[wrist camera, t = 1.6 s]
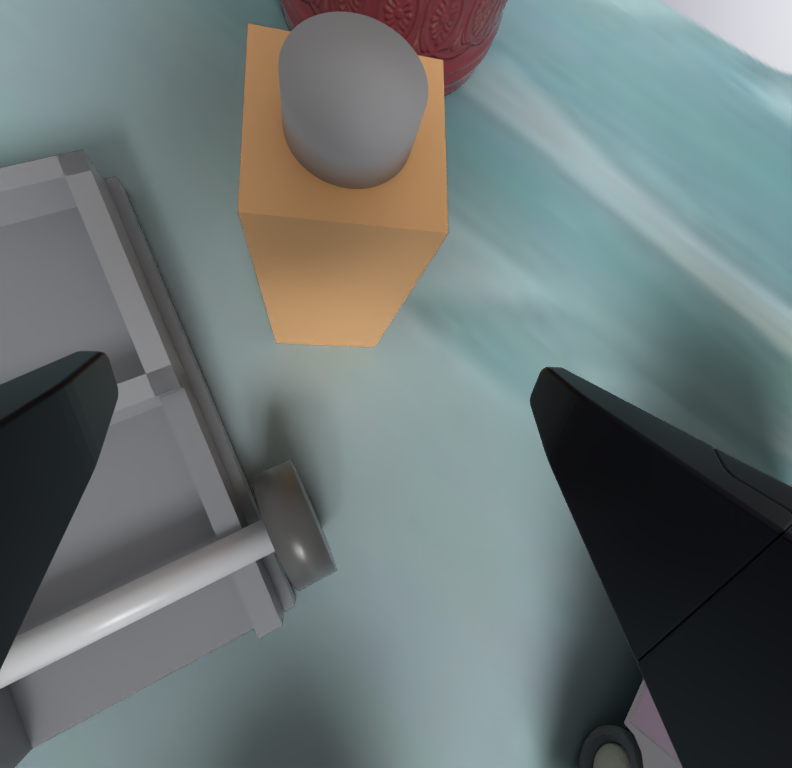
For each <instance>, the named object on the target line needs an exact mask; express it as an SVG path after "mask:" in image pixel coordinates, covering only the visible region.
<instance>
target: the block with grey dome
mask: <svg viewBox="0 0 792 768" xmlns="http://www.w3.org/2000/svg"><path fill="white" fill-rule="evenodd" d="M238 214H239V218H240V221H241V225H242V228H243V231H244V235H245V238H246V242H247V245H248V248H249V252H250V255H251V259H252V262H253V265H254V269H255V272H256V276H257V279H258V282H259V286H260V289H261V292H262V296H263V299H264V303H265V306H266V309H267V313H268V316H269V320H270V323H271V326H272V330H273V333H274V337H275V340H276V343H284V344H308V345H332V346H356V347H375V346H376V344H377V343H378V341H379V340H380V338H381V337H382V335H383V333H384V332H385V330H386V329H387V327H388V326H389V324H390V323H391V321H392V320H393V318H394V316H395V315H396V313H397V312H398V310H399V309H400V307H401V306H402V304H403V303H404V301H405V299H406V298H407V296H408V295H409V293H410V292H411V290H412V289H413V287H414V286H415V284H416V282H417V281H418V279H419V278H420V276H421V275H422V273H423V272H424V270H425V269H426V267H427V266H428V264H429V262H430V261H431V259H432V258H433V256H434V255H435V253H436V252H437V250H438V249H439V247H440V245H441V244H442V242H443V241H444V239H445V238H446V236H447V235H448V203H447V170H446V137H445V104H444V71H443V60H440V59H435V58H430V57H424V56H419V55H417V54H416V52H415V51H414V49H413V48H412V47H411V45H410V44H409V43H408V42H407V41H406V40H405V39H404V38H403V37H402V36H401V35H400V34H398V33H397V32H396V31H395V30H393V29H392V28H390V27H389V26H387V25H386V24H384V23H382V22H380V21H378V20H376V19H373V18H371V17H368V16H365V15H361V14H357V13H351V12H327V13H322V14H318V15H316V16H313V17H310V18H308V19H306V20H304V21H303V22H301V23H300V24H299V25H297V26H296V27H295V28H294V29H293V30H292V31H287V30H281V29H276V28H271V27H265V26H260V25H255V24H249V23H248V31H247V50H246V69H245V87H244V106H243V124H242V143H241V162H240V180H239V199H238Z"/></svg>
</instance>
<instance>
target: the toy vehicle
mask: <svg viewBox="0 0 792 768" xmlns="http://www.w3.org/2000/svg"><path fill="white" fill-rule="evenodd" d="M789 486H791V487H792V485H789ZM624 724H625V725H626V726H627V727H628V728H629V730H630V731H631V732H632V733H633V734H632V733H631V732H629V731H627V730H625V729H624V728H621V727H619V726H616V725H605V726H600V727H597V728H596V729H594V730H593V731H592V732H591V733H590V734H589V735H588V737H587V738H586V740H585V741H584V743H583V746H582V750H581V753H580V756H579V768H682V766H681V763H680V761H679V759H678V757H677V754H676V752H675V750H674V747H673V745H672V743H671V741H670V738H669V736H668V734H667V731H666V729H665V727H664V725H663V722H662V720H661V718H660V715H659V713H658V711H657V709H656V706H655V704H654V702H653V699H652V697H651V695H650V693H649V690H648V688H647V686H646V683H645V681H644V679H643V681H642V683H641V685H640V688H639V690H638V692H637V694H636V697H635V699H634V701H633V704H632V706H631V708H630V710H629V713H628V715H627V717H626V719H625V722H624Z"/></svg>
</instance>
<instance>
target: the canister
mask: <svg viewBox="0 0 792 768" xmlns="http://www.w3.org/2000/svg"><path fill="white" fill-rule="evenodd" d="M281 2H282V8H283V12H284V16H285V19H286V22H287V25H288V27H289V29H290V31H292V30H293V29H294V28H295V27H296V26H297V25H299V24H300V23H301V22H303V21H304V20H306V19H308V18H310V17H313V16H316V15H318V14H322V13H327V12H351V13H357V14H361V15H365V16H368V17H371V18H373V19H376V20H378V21H380V22H382V23H384V24H386V25H387V26H389V27H390V28H392V29H393V30H395V31H396V32H397V33H398V34H400V35H401V36H402V37H403V38H404V39H405V40H406V41H407V42H408V43H409V44H410V45H411V47H412V48H413V49H414V51H415V52H416V54H417V55H419V56H424V57H430V58H435V59H440V60H443V71H444V96H446V95H448V94H450V93H451V92H453V91H454V90H456V89H457V88H459V87H460V86H461V85H462V84H463V83H464V82H465V81H466V80H467V79H468V78H469V77H470V76H471V74H472V73H473V72H474V70H475V68H476V67H477V66H478V64H479V63H480V62H481V61H482V60H483V58H484V57H485V55H486V54H487V52H488V50H489V48H490V46H491V44H492V41H493V39H494V37H495V35H496V33H497V31H498V28H499V25H500V22H501V18H502V13H503V9H504V7H505V5H506V2H507V0H281Z"/></svg>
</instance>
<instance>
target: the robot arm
mask: <svg viewBox="0 0 792 768" xmlns="http://www.w3.org/2000/svg"><path fill="white" fill-rule="evenodd" d="M117 400H118V386H117V382H116V379H115V376H114V373H113V369H112V366H111V363H110V360H109V357H108V356H107V354H105V353H104V352H101V351H77V352H75V353H72V354H70V355H68V356H65V357H63V358H61V359H58V360H56V361H54V362H51V363H49V364H47V365H44V366H42V367H40V368H37V369H35V370H33V371H30V372H28V373H26V374H23V375H21V376H19V377H16V378H14V379H12V380H9V381H7V382H5V383H2V384H0V670H1V667H2V665H3V663H4V661H5V659H6V657H7V655H8V653H9V650H10V648H11V646H12V644H13V642H14V640H15V638H16V636H17V633H18V631H19V629H20V627H21V625H22V623H23V621H24V619H25V617H26V614H27V612H28V610H29V608H30V606H31V604H32V602H33V600H34V597H35V595H36V593H37V591H38V589H39V587H40V585H41V583H42V580H43V578H44V576H45V574H46V572H47V570H48V568H49V566H50V563H51V561H52V559H53V557H54V555H55V553H56V551H57V549H58V546H59V544H60V542H61V540H62V538H63V536H64V534H65V532H66V530H67V527H68V525H69V523H70V521H71V519H72V517H73V515H74V513H75V510H76V508H77V506H78V504H79V502H80V500H81V498H82V496H83V493H84V491H85V489H86V487H87V485H88V483H89V481H90V479H91V476H92V474H93V472H94V469H95V467H96V465H97V462H98V459H99V456H100V453H101V450H102V447H103V444H104V441H105V438H106V434H107V431H108V428H109V425H110V422H111V419H112V416H113V412H114V409H115V406H116V403H117ZM530 405H531V408H532V412H533V415H534V418H535V421H536V424H537V428H538V431H539V434H540V437H541V440H542V444H543V447H544V450H545V453H546V456H547V459H548V461H549V464H550V466H551V469H552V471H553V473H554V475H555V478H556V480H557V482H558V485H559V487H560V489H561V491H562V494H563V496H564V498H565V501H566V503H567V505H568V507H569V510H570V512H571V514H572V516H573V519H574V521H575V523H576V526H577V528H578V530H579V532H580V535H581V537H582V539H583V542H584V544H585V546H586V548H587V551H588V553H589V555H590V558H591V560H592V562H593V564H594V567H595V569H596V571H597V573H598V576H599V578H600V580H601V583H602V585H603V587H604V589H605V592H606V594H607V596H608V599H609V601H610V603H611V605H612V608H613V610H614V612H615V615H616V617H617V619H618V621H619V624H620V626H621V628H622V630H623V633H624V635H625V637H626V640H627V642H628V644H629V646H630V649H631V651H632V653H633V656H634V658H635V660H636V661H637V662H638V663H637V665H638V668H639V670H640V672H641V674H642V677H643V679H644V681H645V683H646V686H647V688H648V690H649V693H650V695H651V697H652V699H653V702H654V704H655V706H656V709H657V711H658V713H659V715H660V718H661V720H662V722H663V725H664V727H665V729H666V731H667V734H668V736H669V738H670V741H671V743H672V745H673V747H674V750H675V752H676V754H677V757H678V759H679V761H680V763H681V766H682V768H792V487H791V486H789V485H787V484H785V483H783V482H781V481H779V480H777V479H775V478H773V477H771V476H769V475H767V474H765V473H763V472H761V471H759V470H757V469H755V468H753V467H751V466H749V465H747V464H745V463H743V462H741V461H739V460H737V459H735V458H733V457H731V456H730V455H728V454H726V453H724V452H722V451H720V450H718V449H713V447H712V446H710V445H708V444H706V443H705V442H703V441H701V440H699V439H697V438H695V437H693V436H691V435H689V434H687V433H686V432H684V431H682V430H680V429H678V428H676V427H674V426H672V425H670V424H668V423H666V422H665V421H663V420H661V419H659V418H657V417H655V416H653V415H651V414H649V413H647V412H645V411H644V410H642V409H640V408H638V407H636V406H634V405H632V404H630V403H628V402H626V401H624V400H623V399H621V398H619V397H617V396H615V395H613V394H611V393H609V392H607V391H605V390H604V389H602V388H600V387H598V386H596V385H594V384H592V383H590V382H588V381H586V380H584V379H583V378H581V377H579V376H577V375H575V374H573V373H571V372H569V371H567V370H565V369H563V368H560V367H545V368H544V369H542V371H541V372H540V374H539V377H538V379H537V381H536V384H535V386H534V389H533V391H532V394H531V397H530Z"/></svg>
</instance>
